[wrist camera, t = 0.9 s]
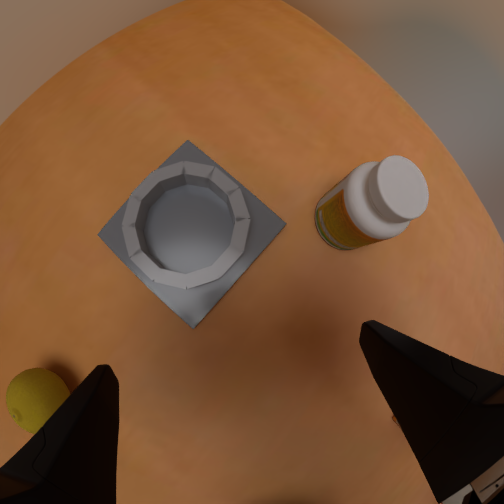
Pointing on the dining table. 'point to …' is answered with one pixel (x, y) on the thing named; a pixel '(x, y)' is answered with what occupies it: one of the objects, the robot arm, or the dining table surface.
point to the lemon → (35, 397)
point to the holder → (190, 232)
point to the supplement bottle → (372, 203)
